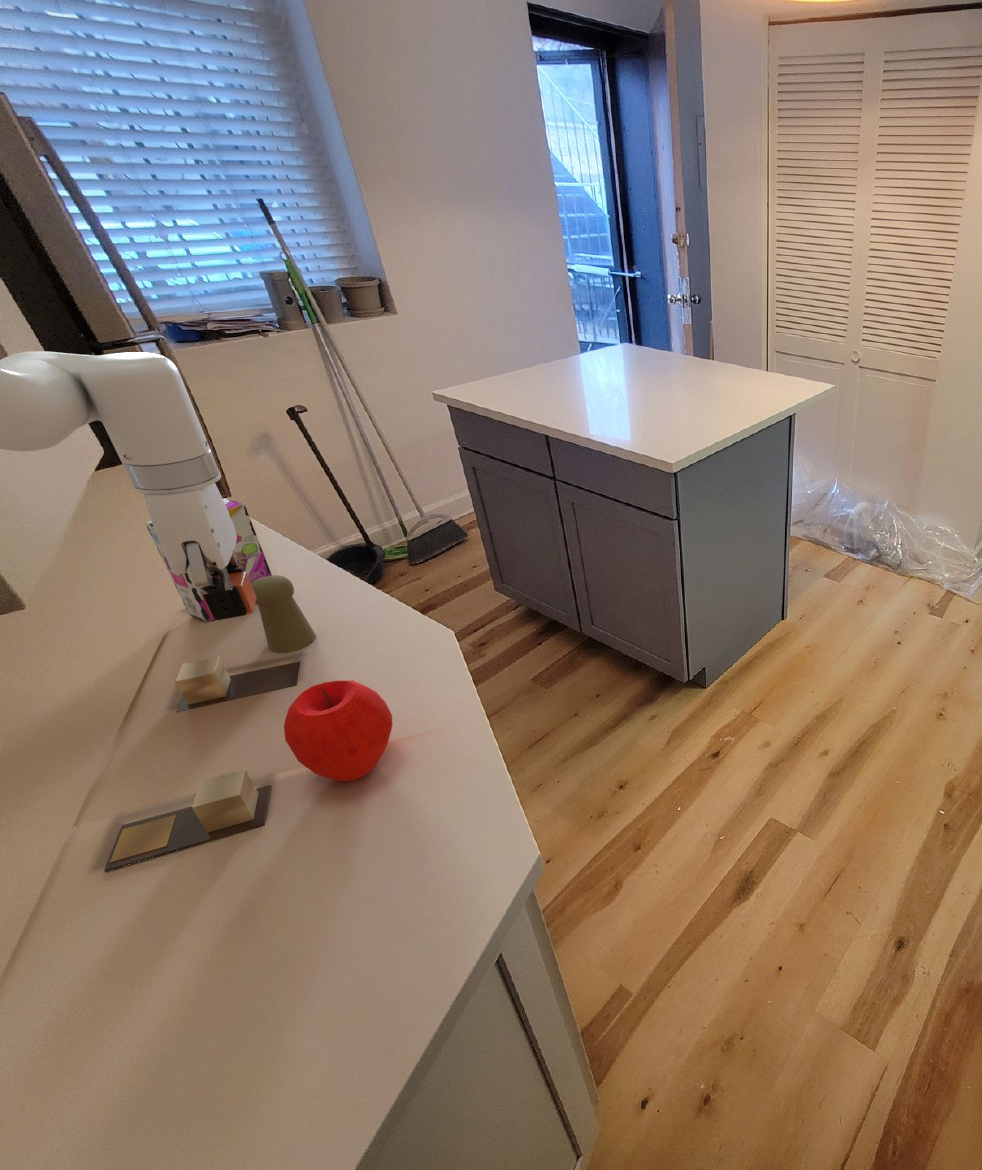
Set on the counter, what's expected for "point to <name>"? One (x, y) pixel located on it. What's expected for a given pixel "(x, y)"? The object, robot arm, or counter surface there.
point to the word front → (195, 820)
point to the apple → (338, 729)
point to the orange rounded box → (241, 590)
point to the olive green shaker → (281, 615)
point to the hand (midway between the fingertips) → (234, 605)
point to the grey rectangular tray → (229, 682)
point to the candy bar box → (189, 593)
